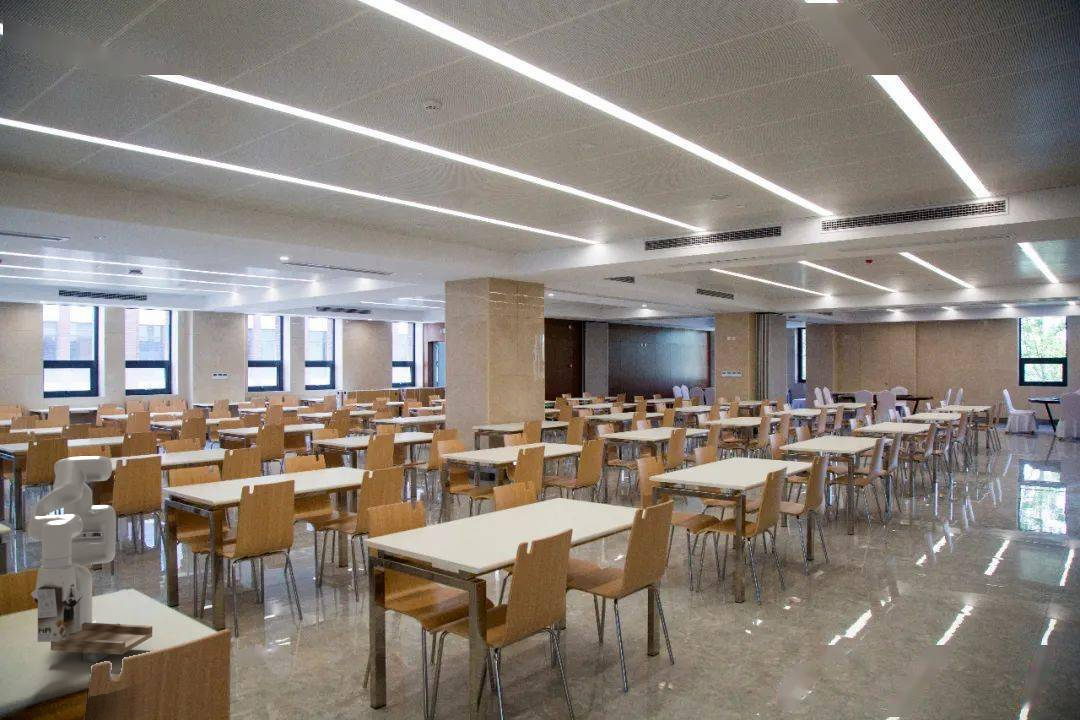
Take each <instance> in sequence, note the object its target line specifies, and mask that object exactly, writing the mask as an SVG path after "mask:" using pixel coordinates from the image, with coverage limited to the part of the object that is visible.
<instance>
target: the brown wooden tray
mask: <svg viewBox="0 0 1080 720" xmlns="http://www.w3.org/2000/svg"><path fill="white" fill-rule="evenodd" d="M152 637H153V625H143V624H142V625H140V624H138V625H137V624H124V623H123V624H121V623H104V622H103V623H102V622H101V623H100V622H97V623H83V624H82V630H81V631H79V632H77V633H73V634H71V635H68V636H66V637H64V638H63V639H62V640H60V641H58V642H50V651H53V652H55V651H57V652H69V653H71V652H72V653H83V662H87V663H88V662H89V663H96V662H98V661H100V660H101V659H103V658H105V657H107V656H108V655H124V654H125V653H127V652H129V651H131V650H132V649H134V648H136V647H137V646H139V645H141V644H142V643H144V642H146V641H148V640H149V639H151V638H152Z"/></svg>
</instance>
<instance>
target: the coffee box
mask: <svg viewBox="0 0 1080 720" xmlns="http://www.w3.org/2000/svg"><path fill="white" fill-rule="evenodd" d="M74 598H75V596H74V597H73V599H74ZM68 602H69V600H68ZM69 604H70V602H69ZM64 609H66V608H65V605H64V602H62V601H61V588H58V587H43V586H42V587H40V588H38V604H37V642H38V643H48V642H49V643H51V642H58V641H60V640H62V639H63V638H67V637H68V636H70V633H72V632H73V631H74V630H75V606H74V616H73V619H72V620H70V621H68V622H64Z"/></svg>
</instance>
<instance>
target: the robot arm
mask: <svg viewBox="0 0 1080 720" xmlns="http://www.w3.org/2000/svg"><path fill="white" fill-rule="evenodd" d="M53 470H54V471H53V472H54V474H55V479H54V483H53V488H52V491H50V492H49V493H47V494H46V495H44V496H43V497H41V499H39V500H38V501H37V502H36V503H35V505H34V506H33V508H32V510H31V513H30V517H29V519H28V520H29V521H28V525H27V535H28V538H29V539H31V541H36V542H41V557H40V558H39V562H41V563H42V564H41V566H39V569H38V573H37V578H36V584H35V589H34V590H33V591H32V592H30V593H31V594H30V595H31V596H32V598H33V600H34V602H36V604H37V605H38V588H40V587H42V586H43V587H58V588H61V601H62V602H64V605H65V608H66V609H64V622H68V621H70V620H72V619H73V616H74V606H75V630H74V631H73V632H72V633H70V634H71V635H73V634H75V633H77V632H79V631H81V630H82V624H83V623H98V621H97V619H94V618H93V575H92V573H91V571H90V570H89V569H88V568H87V567H86V566H88V565H98V564H99V565H100V564H107V563H110V562H112V561H113V560H114V559H115V557H116V556H115V555H116V549H117V548H116V545H117V543H116V540H117V539H116V537H117V536H116V535H117V515H116V511H115V508H114V507H113V506H112V505H108V504H98V505H97V504H96V505H94V504H93V490H92V489H91V487H90V486H89V485H88V483H87V482H104V481H105V482H106V481H108V479H110V478H111V475H112V472H113V464H112V460H111V458H109V457H108V456H101V455H94V456H93V455H92V456H90V455H89V456H71V457H66V458H63V459H62V458H61V459H58V460H57V461H56V462H55V463H54V468H53ZM61 509H63V514H53V515H50V514H52V513H53V512H55V511H59V510H61ZM94 533H99V534H100V536H98V535H97V536H82V537H78V536H79V535H81V534H82V535H83V534H94ZM74 596H75V598H74V599H73V597H74ZM68 600H69V602H70V604H69V602H68ZM70 634H69V635H70Z"/></svg>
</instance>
